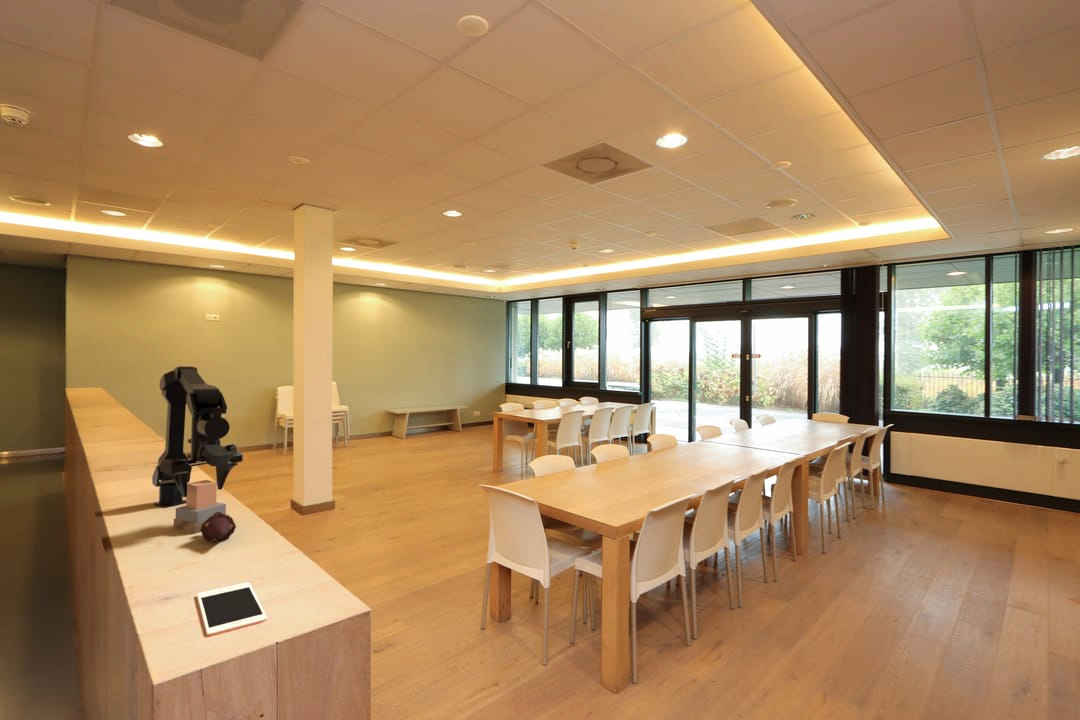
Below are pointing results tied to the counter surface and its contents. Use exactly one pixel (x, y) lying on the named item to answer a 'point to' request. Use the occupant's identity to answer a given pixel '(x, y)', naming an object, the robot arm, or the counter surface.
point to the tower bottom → (188, 526)
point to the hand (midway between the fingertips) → (202, 493)
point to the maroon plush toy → (218, 527)
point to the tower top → (199, 513)
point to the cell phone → (230, 608)
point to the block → (201, 494)
